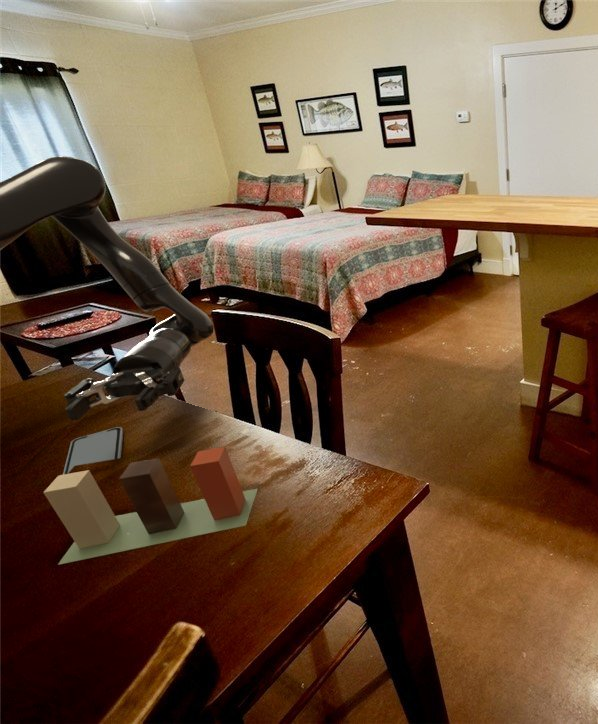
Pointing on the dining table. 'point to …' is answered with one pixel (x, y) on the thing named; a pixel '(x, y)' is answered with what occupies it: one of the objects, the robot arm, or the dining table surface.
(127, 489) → the tall brown brick
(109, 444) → the smartphone
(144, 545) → the pale green strip
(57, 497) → the cream rectangular prism
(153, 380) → the robot arm
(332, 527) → the dining table surface
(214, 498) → the tall red brick
